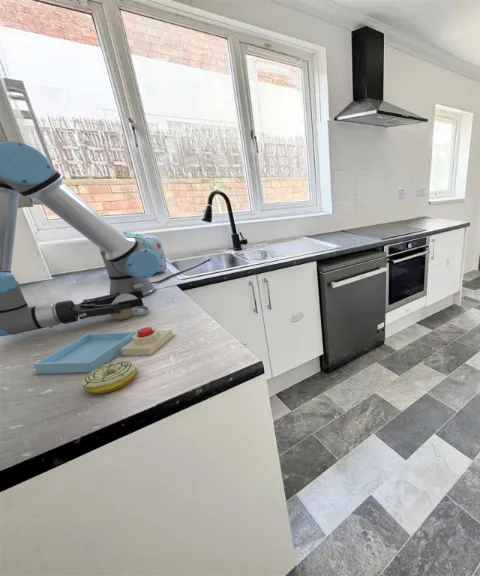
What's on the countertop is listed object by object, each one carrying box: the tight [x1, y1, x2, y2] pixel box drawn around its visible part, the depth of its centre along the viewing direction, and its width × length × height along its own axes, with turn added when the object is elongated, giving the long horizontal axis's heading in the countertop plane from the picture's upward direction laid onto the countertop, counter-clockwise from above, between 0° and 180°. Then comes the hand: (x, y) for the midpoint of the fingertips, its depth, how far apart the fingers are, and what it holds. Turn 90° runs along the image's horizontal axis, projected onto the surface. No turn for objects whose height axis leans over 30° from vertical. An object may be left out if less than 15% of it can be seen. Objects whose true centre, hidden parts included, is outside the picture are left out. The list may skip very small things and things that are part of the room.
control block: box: [121, 328, 174, 356], centre depth 94 cm, size 11×8×4 cm
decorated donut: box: [81, 360, 138, 395], centre depth 77 cm, size 10×11×4 cm
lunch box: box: [121, 230, 167, 274], centre depth 160 cm, size 27×10×21 cm, turn 73°
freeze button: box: [136, 326, 153, 337], centre depth 93 cm, size 4×4×2 cm
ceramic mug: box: [109, 294, 150, 321], centre depth 113 cm, size 11×8×8 cm
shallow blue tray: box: [33, 331, 137, 375], centre depth 89 cm, size 17×15×3 cm
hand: (142, 297), depth 115 cm, fingers closed on ceramic mug, 9 cm apart
